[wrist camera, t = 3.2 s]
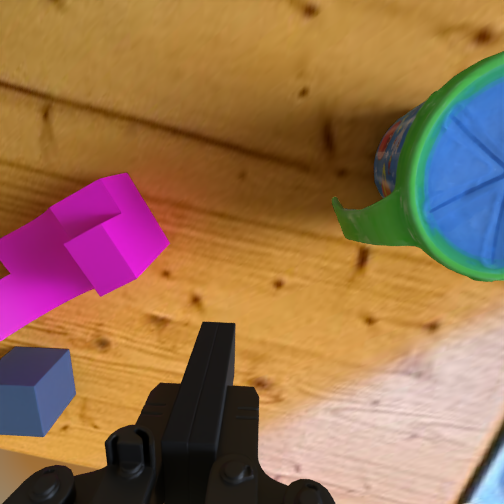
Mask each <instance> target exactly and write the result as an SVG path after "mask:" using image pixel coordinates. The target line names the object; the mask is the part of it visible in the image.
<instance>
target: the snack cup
mask: <svg viewBox="0 0 504 504" xmlns="http://www.w3.org/2000/svg"><path fill="white" fill-rule="evenodd" d="M374 179H375V184H376V186H377V189H378V191H379V193H380V194H381V196H382V197H383V199H382V200H380V201H379V202H376V203H374V204H372V205H370V206H368V207H366V208H364V209H361V210H356V209H344V208H343V206H342V205H341V203H340V202H339V200H338V198H337V197H333V198H332V205H333V208H334V211H335V213H336V215H337V218H338V221H339V223H340V226H341V229H342V232H343V234H344V236H345V238H347V239H349V240H353V241H357V242H362V243H367V244H373V245H386V246H416V247H419V248H421V249H422V250H423V251H424V252H425V253H427V254H428V255H429V256H430V257H431V258H433V259H434V260H436V261H437V262H439V263H440V264H442V265H443V266H445V267H446V268H448V269H450V270H452V271H455V272H456V273H459V274H462V275H465V276H468V277H469V278H471V279H473V280H476V281H485V282H489V281H490V282H492V281H496V280H504V51H503V52H501V53H498V54H495V55H493V56H490V57H488V58H485V59H483V60H481V61H479V62H477V63H475V64H474V65H472V66H470V67H468V68H467V69H465V70H463V71H462V72H460V73H459V74H457V75H456V76H454V77H453V78H452V79H451V80H449V81H448V82H447V83H446V84H445V85H444V86H443V87H442V88H440V89H439V90H438V91H435V92H434V93H433V94H431V96H430V97H429V98H428V99H427V101H425V102H423V103H422V104H420V105H419V106H417V107H415V108H414V109H413V110H411V111H409V112H408V113H407V114H406V115H404V116H403V117H401V118H399V119H398V120H397V121H396V122H395V123H394V124H393V125H392V126H391V127H390V128H389V129H388V131H387V132H386V134H385V135H384V136H383V138H382V140H381V142H380V144H379V146H378V149H377V152H376V156H375V161H374Z"/></svg>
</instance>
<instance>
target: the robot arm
mask: <svg viewBox="0 0 504 504" xmlns="http://www.w3.org/2000/svg"><path fill="white" fill-rule="evenodd" d="M234 363H235V323H220V322H202V325H201V328H200V331H199V334H198V336H197V339H196V342H195V345H194V348H193V351H192V353H191V356H190V359H189V362H188V365H187V368H186V370H185V373H184V376H183V379H182V382H181V384H176V383H160V384H158V385H157V386H156V387H155V388H154V389H153V390H152V391H151V392H150V394H149V396H148V399H147V401H146V403H145V405H144V407H143V409H142V411H141V414H140V416H139V418H138V420H137V422H136V424H135V425H128V426H125V427H123V428H120V429H118V430H117V431H115V432H114V433H112V434H111V435H110V436H109V437H108V439H107V440H106V441H105V449H106V457H107V466H106V467H104V468H102V469H99V470H96V471H94V472H89V473H85V474H80V475H76V476H73V473H72V471H71V469H69V468H68V467H66V466H61V465H54V466H49V467H45V468H43V469H41V470H39V471H37V472H35V473H34V474H33V475H31V476H30V477H29V478H28V479H26V480H25V481H24V482H23V483H22V484H21V485H20V486H19V487H18V488H17V489H16V490H15V491H14V492H13V493H12V494H11V495H10V497H8V499H6V500H5V501H4V502H3V504H335V502H334V500H333V498H332V496H331V495H330V493H329V492H328V490H327V489H326V488H325V487H323V486H322V485H321V484H320V483H318V482H315V481H313V480H310V479H299V480H297V481H294V482H292V483H291V484H290V485H289V486H287V485H285V484H282V483H280V482H277V481H275V480H273V479H272V478H270V477H269V476H268V475H267V474H265V472H264V471H263V470H262V468H261V466H260V464H259V461H258V424H259V396H258V394H257V392H256V390H255V388H254V387H247V386H233V379H234Z"/></svg>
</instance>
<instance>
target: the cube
mask: <svg viewBox="0 0 504 504" xmlns="http://www.w3.org/2000/svg"><path fill="white" fill-rule="evenodd" d="M75 395H76V391H75V385H74V378H73V371H72V365H71V358H70V351H69V349H53V348H33V347H14V348H13V349H12V350H11V351H10V352H8V353H7V354H6V355H5V356H3V357H2V358H1V359H0V435H17V436H35V437H44V436H45V435H46V434H47V432H48V431H49V430H50V428H51V427H52V426H53V424H54V423H55V422H56V420H57V419H58V418H59V416H60V415H61V414H62V412H63V411H64V409H65V408H66V407H67V405H68V404H69V403H70V401H71V400H72V399H73V397H74V396H75Z"/></svg>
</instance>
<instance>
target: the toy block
mask: <svg viewBox="0 0 504 504" xmlns="http://www.w3.org/2000/svg"><path fill="white" fill-rule="evenodd" d="M169 244H170V242H169V241H168V239H167V237H166V236H165V234H164V233H163V231H162V229H161V228H160V226H159V224H158V223H157V221H156V219H155V218H154V216H153V214H152V213H151V211H150V209H149V208H148V206H147V205H146V203H145V201H144V200H143V198H142V196H141V195H140V193H139V191H138V190H137V188H136V186H135V185H134V183H133V181H132V180H131V178H130V177H129V175H128V173H123V174H119V175H114V176H109V177H105V178H100V179H98V180H97V181H95V182H93V183H91V184H90V185H88V186H86V187H84V188H83V189H81V190H79V191H77V192H76V193H74V194H72V195H70V196H69V197H67V198H65V199H63V200H62V201H60V202H58V203H56V204H54V205H53V206H51V207H49V208H48V210H47V211H45V212H44V213H43V214H41V215H40V216H39V217H37V218H36V219H34V220H32V221H31V222H29V223H27V224H26V225H24V226H22V227H21V228H19V229H17V230H15V231H13V232H11V233H10V234H8V235H6V236H4V237H2V238H0V261H1V262H2V263H3V264H4V266H5V267H6V268H7V270H8V271H9V272H10V274H9V275H8V276H6V277H4V278H2V279H0V341H2V340H3V339H5V338H6V337H8V336H9V335H11V334H12V333H14V332H16V331H17V330H19V329H20V328H22V327H23V326H25V325H27V324H28V323H30V322H32V321H33V320H35V319H37V318H38V317H40V316H42V315H43V314H45V313H47V312H48V311H50V310H52V309H54V308H56V307H57V306H59V305H61V304H63V303H65V302H67V301H68V300H70V299H72V298H74V297H76V296H78V295H80V294H83V293H85V292H87V291H89V290H92V289H94V288H95V290H96V291H97V293H98V294H99V295H100V297H101V296H103V295H105V294H107V293H109V292H111V291H113V290H115V289H117V288H119V287H121V286H123V285H125V284H127V283H129V282H131V281H133V280H135V279H137V278H138V277H139V276H140V275H141V274H142V273H143V271H144V270H145V269H146V268H147V267H148V266H149V265H150V264H151V263H152V262H153V261H154V260H155V259H156V258H157V256H158V255H159V254H160V253H161V252H162V251H163V250H164V249H165V248H166V247H167V246H168V245H169Z"/></svg>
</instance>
